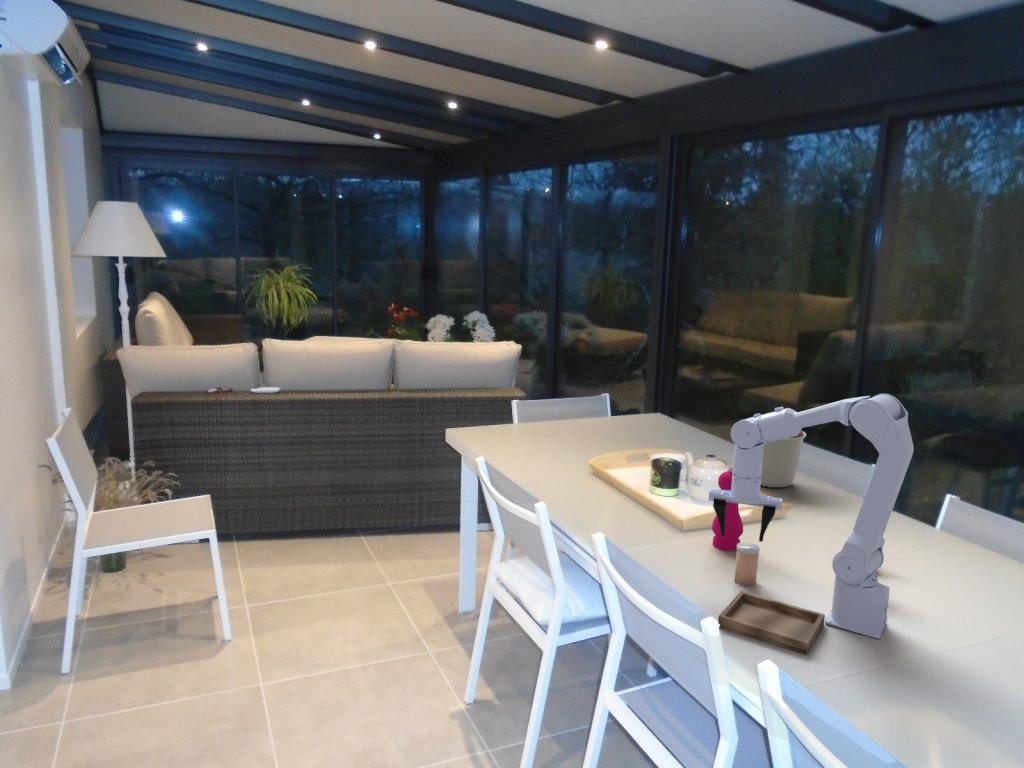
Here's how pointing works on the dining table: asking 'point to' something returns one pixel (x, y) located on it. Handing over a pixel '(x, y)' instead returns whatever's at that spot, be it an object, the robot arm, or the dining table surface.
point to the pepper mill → (728, 518)
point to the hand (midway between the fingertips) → (741, 537)
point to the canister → (781, 461)
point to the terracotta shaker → (746, 564)
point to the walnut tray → (772, 622)
